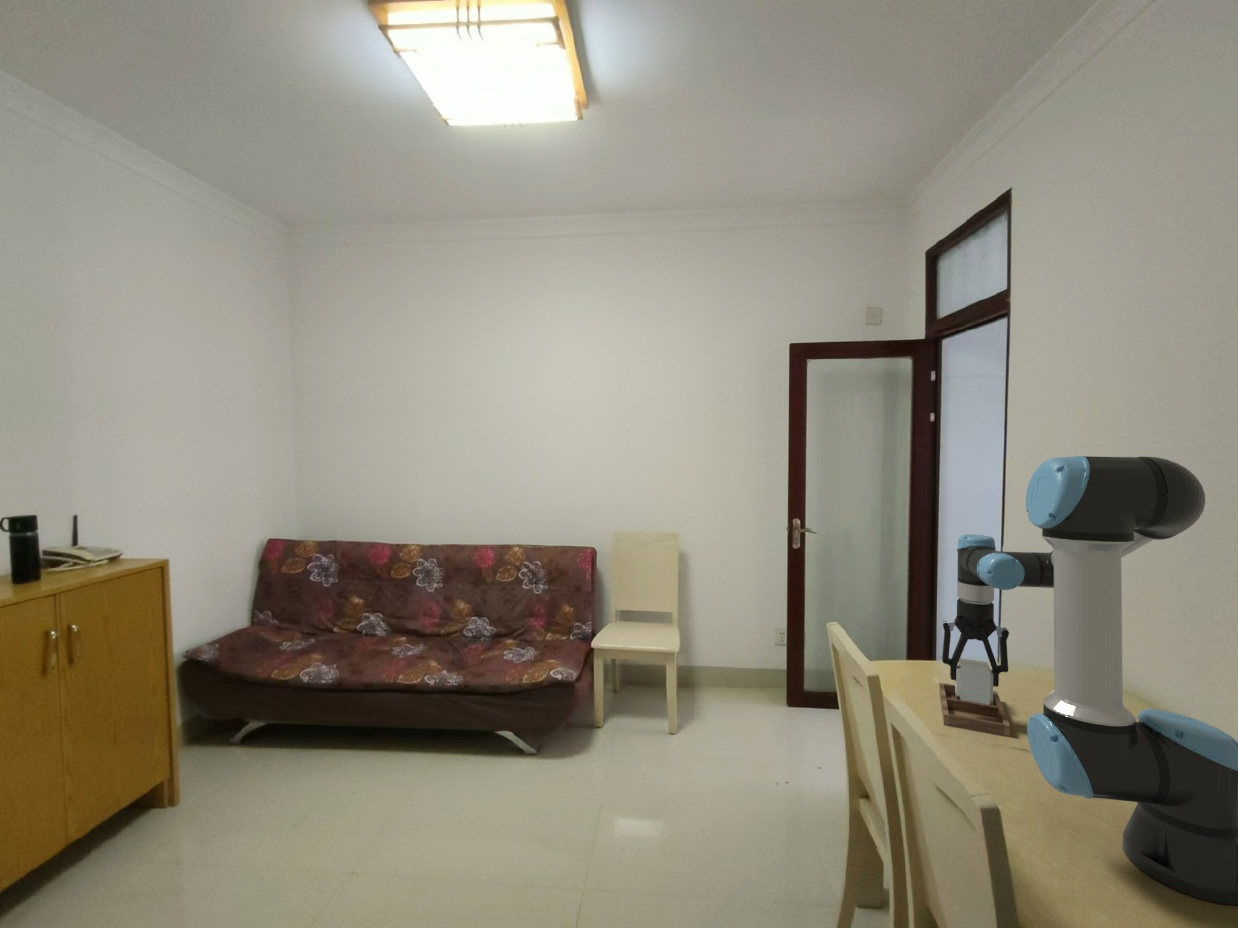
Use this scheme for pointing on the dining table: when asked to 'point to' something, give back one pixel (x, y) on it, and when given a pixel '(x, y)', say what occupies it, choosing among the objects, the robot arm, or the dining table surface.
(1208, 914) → the dining table surface
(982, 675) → the block
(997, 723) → the wooden cubby shelf
